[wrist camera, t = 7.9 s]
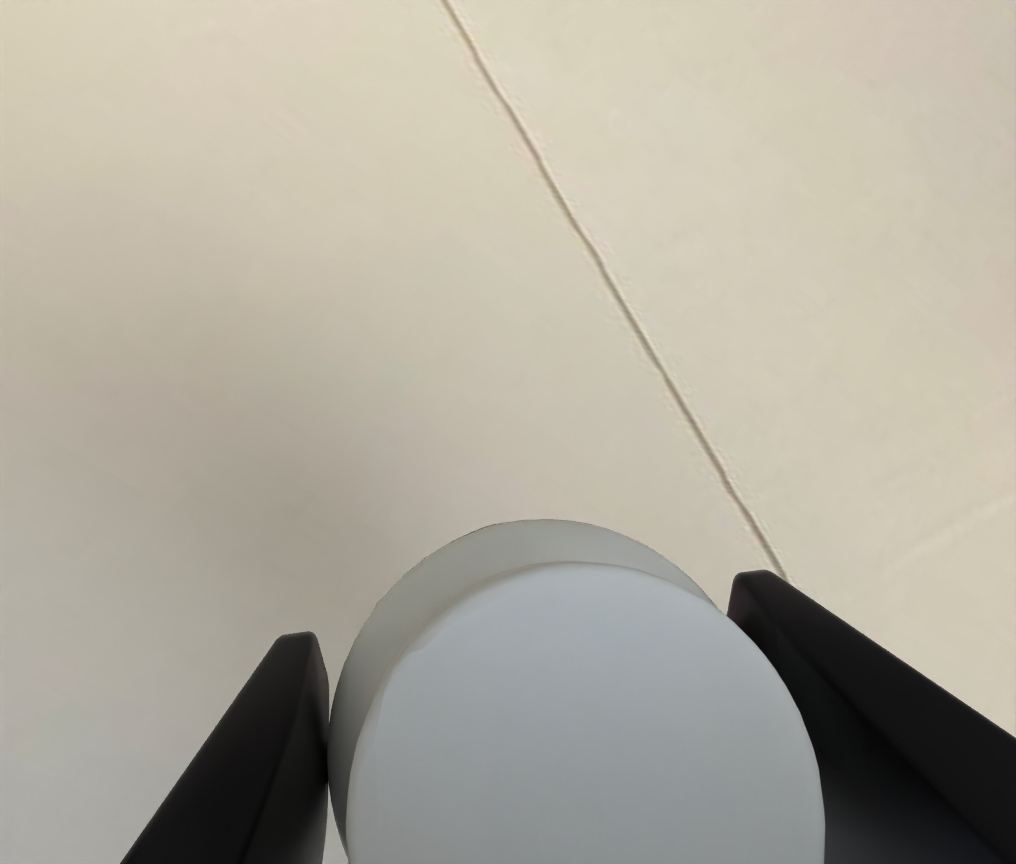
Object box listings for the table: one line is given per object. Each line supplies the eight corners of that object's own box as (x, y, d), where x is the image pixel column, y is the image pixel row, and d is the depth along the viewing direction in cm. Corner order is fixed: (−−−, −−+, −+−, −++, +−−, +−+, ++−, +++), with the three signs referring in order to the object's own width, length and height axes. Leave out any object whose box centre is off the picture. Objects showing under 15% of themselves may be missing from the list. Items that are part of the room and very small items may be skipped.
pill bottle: (676, 627, 15) (1014, 684, 6) (561, 861, 14) (757, 1389, 5) (467, 504, 16) (477, 375, 6) (336, 723, 15) (110, 966, 5)
